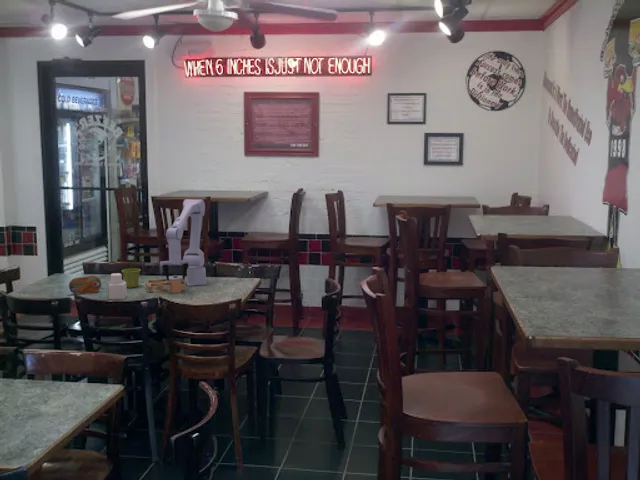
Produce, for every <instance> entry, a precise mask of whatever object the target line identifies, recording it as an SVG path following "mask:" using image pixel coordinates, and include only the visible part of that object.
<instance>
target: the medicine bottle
mask: <svg viewBox="0 0 640 480" xmlns="http://www.w3.org/2000/svg"><path fill="white" fill-rule="evenodd" d="M109 275H110V276H109V279H110V283H109V284H108V285H107V289H108V290H107V291H108V300H109V299H112V300H124V299H126V298H127V296H128V293H127V291H128V290H127V289H128V288H127V287H126V282H125V280H124V275H123V272H112V273H111V274H109Z"/></svg>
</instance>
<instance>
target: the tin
mask: <svg viewBox="0 0 640 480" xmlns="http://www.w3.org/2000/svg"><path fill="white" fill-rule="evenodd" d="M101 287H102V282H101V279H100V278H99V277H97V276H94V275H88V276H81V277H80V276H78V277H75V278H73V279H71V280H70V282H69V284H68V289H69V291H70V292H71V293H72V294H73V295H75V296H80V295H87V294H94V293H97V292H99V290H100V289H101Z"/></svg>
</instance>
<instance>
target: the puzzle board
mask: <svg viewBox="0 0 640 480" xmlns="http://www.w3.org/2000/svg"><path fill="white" fill-rule="evenodd" d="M144 285H145V289H147V290H146V291H147V293H148V292H149V294H151V293H150V292H154V293H162V292H163V293H164V291H166V292H172V291H171V282H166V278H160V279H148V281H146V282H145V283H144ZM181 291H186V280H185V281H181Z"/></svg>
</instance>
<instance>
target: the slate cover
mask: <svg viewBox="0 0 640 480" xmlns="http://www.w3.org/2000/svg"><path fill="white" fill-rule="evenodd" d="M165 279H166V282H171V280H174V279H180V280H181V281H185V282H186V280H185V279H186V278H185V279H183V278H182V275H178V274H174V275H171V276H170V275H169V280H167V277H165Z"/></svg>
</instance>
